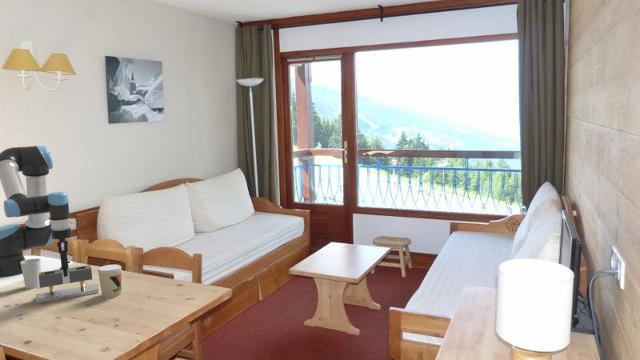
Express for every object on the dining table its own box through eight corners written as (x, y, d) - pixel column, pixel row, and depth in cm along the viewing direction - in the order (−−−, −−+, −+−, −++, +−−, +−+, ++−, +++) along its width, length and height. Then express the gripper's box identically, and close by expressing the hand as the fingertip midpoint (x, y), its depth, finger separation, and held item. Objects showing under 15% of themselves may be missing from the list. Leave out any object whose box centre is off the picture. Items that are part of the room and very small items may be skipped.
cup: (46, 283, 236) (44, 258, 235) (35, 289, 228) (33, 263, 227) (30, 283, 237) (28, 258, 235) (19, 289, 229) (16, 263, 227)
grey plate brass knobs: (35, 303, 211) (33, 283, 210) (36, 297, 218) (34, 278, 217) (98, 292, 221) (96, 274, 220) (97, 287, 229) (95, 269, 227)
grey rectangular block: (39, 288, 212) (38, 274, 211) (40, 283, 217) (39, 271, 216) (92, 279, 221) (91, 266, 220) (91, 275, 226) (90, 263, 225)
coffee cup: (115, 298, 213) (112, 271, 212) (95, 297, 215) (92, 270, 214) (128, 291, 222) (125, 264, 221) (108, 290, 224) (106, 263, 223)
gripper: (51, 225, 223) (56, 276, 226) (50, 234, 206) (56, 289, 209) (70, 223, 226) (75, 273, 229) (71, 231, 209) (76, 285, 212)
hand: (66, 281), depth 219 cm, fingers closed on grey rectangular block, 6 cm apart
